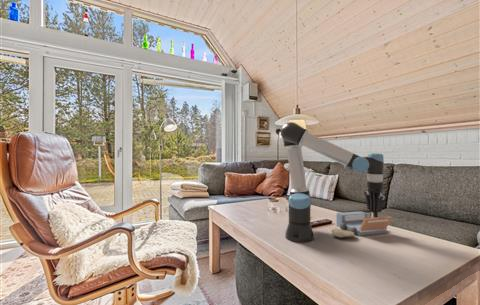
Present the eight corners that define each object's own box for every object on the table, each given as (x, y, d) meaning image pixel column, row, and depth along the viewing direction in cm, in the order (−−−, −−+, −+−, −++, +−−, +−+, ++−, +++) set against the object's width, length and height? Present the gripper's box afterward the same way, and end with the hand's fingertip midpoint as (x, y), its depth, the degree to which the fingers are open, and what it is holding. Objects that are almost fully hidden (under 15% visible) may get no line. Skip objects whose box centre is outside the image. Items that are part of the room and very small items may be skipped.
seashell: (352, 232, 131) (351, 227, 131) (357, 240, 119) (356, 235, 119) (330, 232, 134) (329, 227, 134) (333, 240, 122) (332, 235, 122)
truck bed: (357, 237, 126) (357, 222, 126) (334, 226, 146) (334, 213, 146) (389, 234, 131) (389, 219, 131) (363, 223, 151) (363, 211, 151)
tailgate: (361, 231, 126) (366, 219, 123) (359, 229, 127) (364, 218, 124) (386, 228, 130) (392, 217, 127) (385, 227, 131) (390, 216, 128)
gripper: (390, 183, 122) (389, 226, 123) (371, 179, 135) (370, 219, 136) (378, 183, 121) (377, 228, 122) (360, 179, 133) (359, 220, 134)
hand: (373, 223), depth 129 cm, fingers closed
